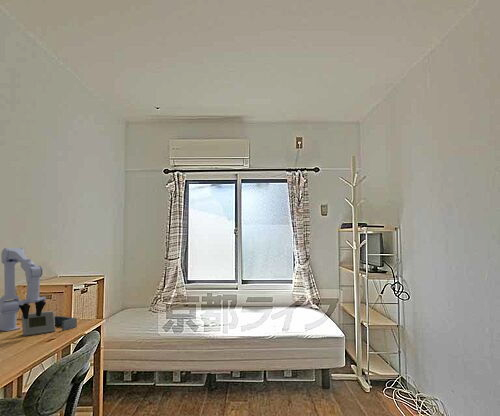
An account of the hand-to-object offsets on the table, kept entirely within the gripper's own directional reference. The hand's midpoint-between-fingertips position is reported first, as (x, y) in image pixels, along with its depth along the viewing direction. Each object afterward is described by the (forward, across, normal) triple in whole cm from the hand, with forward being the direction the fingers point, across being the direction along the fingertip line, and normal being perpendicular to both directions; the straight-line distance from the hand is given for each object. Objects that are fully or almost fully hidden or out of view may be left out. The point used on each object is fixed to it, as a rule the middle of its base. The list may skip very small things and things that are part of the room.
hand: (32, 317), depth 215 cm
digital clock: (+10, +7, +3) cm, 13 cm away
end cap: (+10, +21, +3) cm, 23 cm away
